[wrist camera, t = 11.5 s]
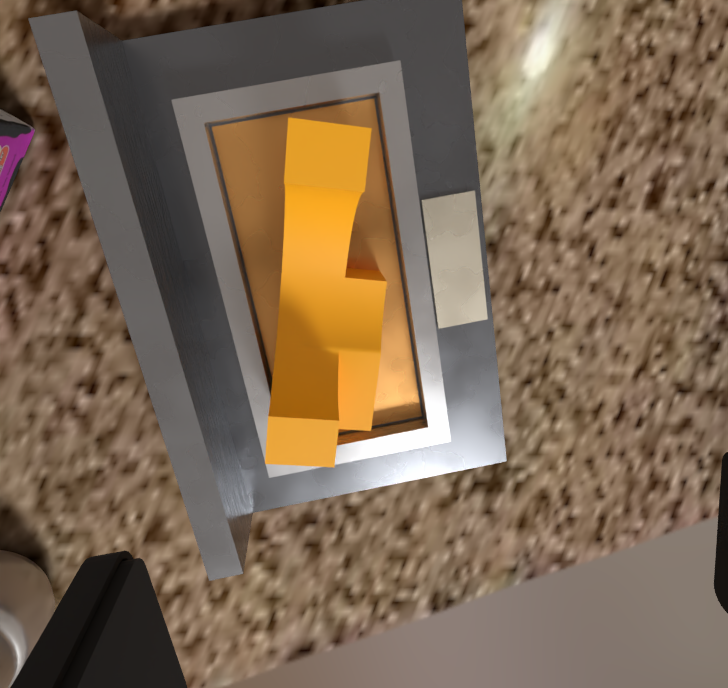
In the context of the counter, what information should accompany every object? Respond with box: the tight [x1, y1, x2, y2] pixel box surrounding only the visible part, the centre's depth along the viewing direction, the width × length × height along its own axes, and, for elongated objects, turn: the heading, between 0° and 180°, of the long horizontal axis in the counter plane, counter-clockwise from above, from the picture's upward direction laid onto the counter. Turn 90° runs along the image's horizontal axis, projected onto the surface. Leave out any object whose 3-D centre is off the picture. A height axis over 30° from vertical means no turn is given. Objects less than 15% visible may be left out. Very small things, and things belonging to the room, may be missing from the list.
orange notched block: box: [265, 117, 387, 467], centre depth 22 cm, size 12×4×6 cm, turn 173°
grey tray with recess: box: [28, 0, 507, 581], centre depth 24 cm, size 15×22×6 cm
